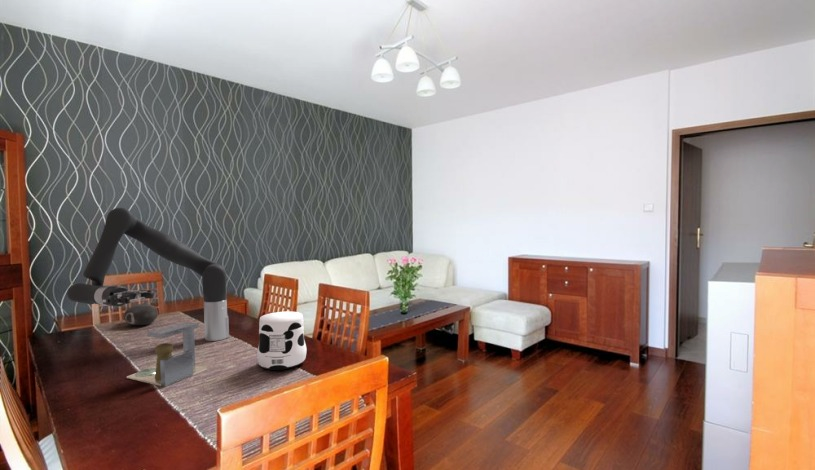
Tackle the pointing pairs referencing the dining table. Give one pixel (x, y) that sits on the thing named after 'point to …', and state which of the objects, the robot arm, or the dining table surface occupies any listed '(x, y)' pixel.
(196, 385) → the dining table surface
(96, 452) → the dining table surface
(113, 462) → the dining table surface
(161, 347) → the cork
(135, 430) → the dining table surface
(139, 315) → the decorative stone
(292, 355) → the milk container
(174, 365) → the stand
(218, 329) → the robot arm
